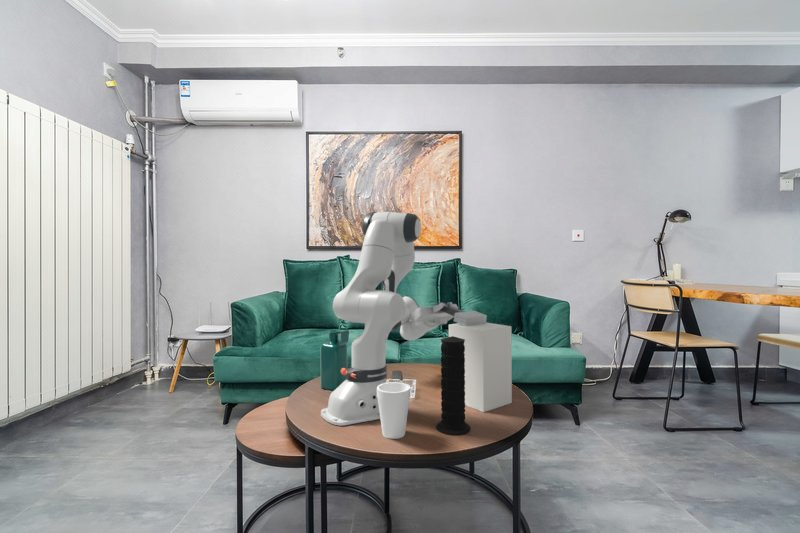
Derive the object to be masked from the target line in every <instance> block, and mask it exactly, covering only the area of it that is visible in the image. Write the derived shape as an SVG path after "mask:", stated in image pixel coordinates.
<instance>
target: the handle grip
mask: <svg viewBox="0 0 800 533" xmlns="http://www.w3.org/2000/svg"><path fill="white" fill-rule="evenodd" d="M440 342H441V345H440V351H441V353H440V356H441V358H440V363H441V364H440V366H441V369H440V373H441V375H440V377H441V380H440V384H441V387H440V389H441V392H440V395H441V398H440V399H441V402H440V404H441V406H440V407H441V415H440V417H441V421H439V422H438V423H437V424H436V426H435V429H436V430H437V432H439V433H441V434H444V435H448V436H462V435H463V436H464V435H466V434H469V433H470V432H471V431H472V429H471V428H472V426H471V425H470V424H469V423H467V422H466V421H465V420H466V413H465V412H466V405H465V398H464V397H465V387H464V386H465V379H464V378H465V376H464V375H465V368H464V367H465V365H464V363H465V357H464V356H465V354H464V351H465V346H464V342H465V340H464V339H461V338H458V337H454V336H452V337H449V336H447V337H444V338H441V339H440Z"/></svg>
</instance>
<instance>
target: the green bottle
mask: <svg viewBox="0 0 800 533" xmlns="http://www.w3.org/2000/svg"><path fill="white" fill-rule="evenodd" d="M326 334H328V341H326V342H323V343H322V344H321V345H320V349H319V350H320V351H319V352H320V355H319V356H320V388H321V389H323V388H324V389H325V390H328V391H329V390H330V391H334V390H335V389H336V388H337V387H339V386H340V385H341V384H342V383H343V382H344V381H345V380H346V379H347V375H343V374H342V373H341V372H340V371H341V370H342V368H345V369H347V370H348V345H347V344H348V342H349V336H350V330H349V329H346V330H345V329H344V330H342V331H341V330H339V329H329V330H327V331H326ZM339 336H340V340H339ZM324 389H323V390H324Z"/></svg>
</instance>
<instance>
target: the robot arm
mask: <svg viewBox="0 0 800 533" xmlns="http://www.w3.org/2000/svg"><path fill="white" fill-rule="evenodd" d="M421 224H422V223H421V219H420V218H419V216H418V215H417V214H415V213H411V212H407V213H405V212H394V211H379V212H377V211H371V212H368V213H366V214H365V216H363V219H362V222H361V232H362V234H363V236H364V238H363V242H362V246H361V250H360V251H361V252H360V255H359V256H360V257H359V261H358V264H357V265H358V266H357V268H356V271H355V273H354V274H353V276H352V278H351V280H350V281H349V283H347V285H346V286H345V287H344V288H343V289H341V290H340V291H339V292H338V293H336V295H335V296H334V298H333V301H332V311H333V313H334V316H336V317H337V318H338V319H340V320H342V321H345V322H349V323H356V324H358V323H359V324H364V329H363V332H362V334H360V335H358V336H357V337H356V338H354V339H353V341H352V342H351V349H350V350H351V351H350V352H351V353H350V354H351V365H350V367H349V369H348V368H347V369H345V368H342V370H341V371H340V372H341V373H342V374H343V375H347V379H346V380H345V381H344V382H343V383H342V384H341V385H340V386H339V387H337V388H336V389H335V390H332V392H331V393H330V394H329V397H328V401H327V402H328V403H327V407H325V408H322V409H321V410H320V417H322V419H324V420H325V421H326V422H327V423H329V424H332V425H335V426H341V427H342V426H348V425H354V424H359V423H366V422H369V421H370V422H371V421H375V420H380V412H379V405H378V398H377V386H378V385H380V384H384V383H387V378H388V377H387V376H388V369H387V368H388V367H387V364H386V351H387V350H386V348H387V341H388V337H389V334H390V332H395V331H397V330H398V329H399V328H400V329H399V334H400V336H401V337H402V338H403V339H404V340H407V341H409V342H410V341H411V342H412V341H415V340H418V339H419V338H421V337H423V336H425V334H426V333H428V332H431V330H434V329H435V328H437V327H441V326H444V325H447V323H448V321H450V320H452V319H454V316H452V315H450V314H448V313H445V312H443V311H440V309H443V308H445V304H447V305H450V306H452V307H455V308H457V309H459V307H458V305H457V304H456V303H453V302H451V301H449V302H447V303H445V302H442V303H440V302H439V303H440V304H439V305H437V304H436V305H432V306H423V307H422V306H421V307H420V305H419V304H418V303H417V301H416V300H415V299H414V298H412V297H410V296H406V295H405V296H403V297H402V295H401V294H400V293H397V289H398V286H399V284H400V283H401V281H402V280H403V279H404V278H405V277H406V276H407V275H408V273H410V272H411V270H412V269H413V267H414V265H415V258H416V257H415V245H414V242H416V241H417V240H418V239H419V238H420V235H421V231H422V225H421ZM380 284H381V288H380V289H376V288H377V287H378V286H379V285H380Z"/></svg>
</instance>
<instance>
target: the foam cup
mask: <svg viewBox="0 0 800 533" xmlns="http://www.w3.org/2000/svg"><path fill="white" fill-rule="evenodd" d="M377 398H378V405H379V412H380V419H379V420H380V426H381V433H382V436H383V437H384V438H387V439H390V440H391V439H393V440H394V439H395V440H396V439H400V438H403V437H405V435H406V429H407V428H406V427H407V422H408V421H407V419H408V413H409V405H410V398H411V386H410V384H407V383H405V382H399V381H398V382H396V381H391V382H386V383H384V384H380V385H378V386H377Z"/></svg>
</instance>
